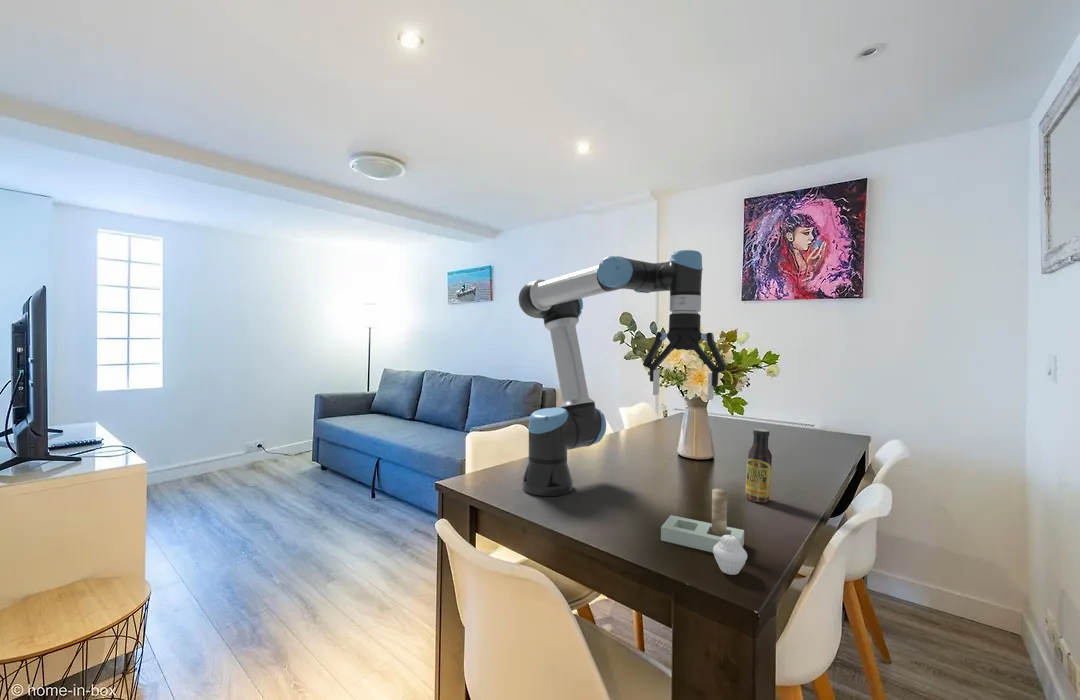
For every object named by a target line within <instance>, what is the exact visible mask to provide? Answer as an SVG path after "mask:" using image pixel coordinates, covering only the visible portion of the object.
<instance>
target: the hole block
mask: <svg viewBox="0 0 1080 700" xmlns="http://www.w3.org/2000/svg"><path fill="white" fill-rule="evenodd" d="M727 535H733V536H735V537H737V538H738V539H739V541H740V545H741V546H742V548H743V549H744V545H745V543H744V542H745V530H744V529H740V528H736V527H731V526H727ZM720 538H721V537H719V536H715V535H712V522H711V523H710V522H706V521H701V520H696V519H692V518H686V517H681V516H677V515H672V514H670V515H669V516H668V518H667V519H666V521H664V523H663V524H662V525H661V527H660V541H662V542H667V543H669V544H670V543H671V544H675V545H679V546H683V547H688V548H692V549H697V550H700V551H705V552H708V553H713V547H714V546H715V545H716V544H717V543H718V542H719V541H720ZM713 554H714V553H713Z"/></svg>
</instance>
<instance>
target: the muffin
mask: <svg viewBox="0 0 1080 700" xmlns="http://www.w3.org/2000/svg"><path fill="white" fill-rule="evenodd" d="M713 556H714V558H715V559H714V560H715V561H716V563H717V565H718V567H719V570H721V572H722V573H724V574H727V575H730V576H731V575H733V576H735V575H738V574H739V573H740V572H741V570H742V569H743V567H744V566H745V564H746V561H747V560H748V553H747V551H746V549H744V547H743V548H742V546H741V545H740V541H739V539H738V538H737V537H735V536H733V535H723V536H722V537H721V538H720V541H719V542H718V543H717V544H716V545H715V546H714V547H713Z"/></svg>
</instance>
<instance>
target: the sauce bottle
mask: <svg viewBox="0 0 1080 700" xmlns="http://www.w3.org/2000/svg"><path fill="white" fill-rule="evenodd" d="M752 434H753V442H752V445H751V447H750V449H749V450H748V455H747V460H746V461H747V462H746V477H745V498H746V499H747V500H749V501H751V502H754V503H760V504H763V503H764V504H765V503H767V502H770V497H771V484H772V481H771V480H772V469H773V468H772V467H773V463H772V461H773V460H772V459H773V455H772V453H771V451H770V449H769V436H770V430H769V429H764V428H753V430H752Z"/></svg>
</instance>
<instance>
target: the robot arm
mask: <svg viewBox="0 0 1080 700" xmlns="http://www.w3.org/2000/svg"><path fill="white" fill-rule="evenodd" d="M703 271H704V270H703V256H702V253H701V252H700V251H698V250H694V249H693V250H692V249H681V250H676V251H673V252H672V253H671V256H670V261H665V262H656V263H655V262H653V263H652V262H648V261H643V260H642V261H641V260H637V259H631V258H627V257H623V256H619V255H616V256H614V255H610V256H605V257H604V258H603V259H602V261H600V263H599V264H598V265H594V266H591V267H588V268H585V269H581V270H578V271H574V272H571V273H567V274H565V275H562V276H559V277H558V276H557V277H555V278H552V279H548V280H546V279H537V280H533V281H530V282H527V284H525V285H523V286H522V288H521V289H520V292H519V293H518V303H519V307H520V309H521V311H522V312H523V313H524V314H526V316H529V317H531V318H534V319H543V325H544V328H545V329H547V330H548V331H549V332H550V337H551V338H550V339H551V343H552V344H551V345H552V350H553V355H554V360H555V366H556V372H557V376H558V377H557V378H558V382H559V387H560V394H561V400H562V402H561V404H560V406H558V407H546V408H545V407H544V408H540V409H538V410H535V411H533V412H532V413H531V414H530V416H529V418H528V426H527V431H528V462H527V465H526V470H525V471H524V474H523V478H522V490H523V491H524V492H526V493H528V494H529V495H530V494H531V495H535V496H539V497H540V496H541V497H556V496H563V495H566V494H568V493H570V492H572V491H573V489H574V480H573V478H572V474H571V470H570V467H569V465H568V450H573V449H578V448H579V449H580V448H584V447H591V446H592V445H595V444H598V443H600V442H601V441H602V439H603V437H604V436H605V434H606V431H607V419H606V417H605V414H604V413H603V412H602V411H601V409H599V408H597V407H596V404H595V403H596V402H595V400H593V399H592V398H591V397H589V396H590V395H589V392H588V387H587V380H586V375H585V370H584V365H583V359H582V355H581V349H580V344H579V339H578V338H579V337H578V334H577V324H578V323H579V322H580V319H579V317H581V314H582V313H583V312H582V310H583V309H584V302H583V299H585V298H588V297H592V296H596V295H601V294H605V293H607V292H608V293H609V292H613V291H618V290H625V289H626V290H631V291H632V290H633V291H634V292H636V293H639V294H640V293H642V294H643V293H644V294H645V293H646V294H650V293H654V292H655V293H656V292H669V311H670V312H671V313H670V314H669V316H668V317H669V318H668V319H669V320H668V332H663V331H657V332H656V334H655V340H654V342H653V344H652V346H651V347H650V349H649V351H648V354H647V355H646V357H645V359H644V361H643V362H642V366H643V367H646V368H648V369H649V381H650V382H652V395H653V396H657V395H660V369H659V368H658V367H659V366H660V365H661V364H662V362H663V361H664V360H666V358H667V357H668V356H669V355H670V354H671V353H672V352H673V351H674V350H677V351H682V350H684V351H692V350H693V352H695V353H696V354H697V356H699V358H700V359H701V360H702V361H703V363H704V364H705V365H706V366H707V368H708V369H709V370H710V371H711V372H708V377H707V401H711V400H713V399H714V387H718V385H719V374H720V373H721V372H724V371H727V368H728V367H727V365H726V362H725V361H724V359H723V357H722V355H721V353H720V351H719V349H718V346H717V345H716V343H715V337H714V336H715V335H714V332H707V333H702V331H701V319H702V318H701V314H700V312H701V310H702V279H703V278H702V277H703V276H702V275H703ZM666 339H667V340H668V341H669V343H668V344H667V346H666V347H665V349H663V351H661V353H660V354H659V355H658V357H656V355H657V352H658V351H659V349H660V347H661V345H662V343H663V341H665V340H666ZM702 339H703V341H704V342H706V343H707V345H708V348H709V350H710V352H711V354H712V357H713V358H714V360H715V362H716V364H717V365H716V364H715V363H714V361H713V360H712V359H711V358H710V357H709V356H708V354H707V353H706V352H705V351H704V349H703V347H701V345H700V344H699V343H700V341H701V340H702ZM655 357H656V358H655ZM654 359H655V360H654ZM653 360H654V361H653ZM717 366H718V367H717Z"/></svg>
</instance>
